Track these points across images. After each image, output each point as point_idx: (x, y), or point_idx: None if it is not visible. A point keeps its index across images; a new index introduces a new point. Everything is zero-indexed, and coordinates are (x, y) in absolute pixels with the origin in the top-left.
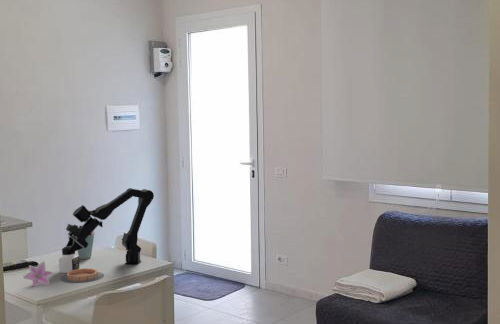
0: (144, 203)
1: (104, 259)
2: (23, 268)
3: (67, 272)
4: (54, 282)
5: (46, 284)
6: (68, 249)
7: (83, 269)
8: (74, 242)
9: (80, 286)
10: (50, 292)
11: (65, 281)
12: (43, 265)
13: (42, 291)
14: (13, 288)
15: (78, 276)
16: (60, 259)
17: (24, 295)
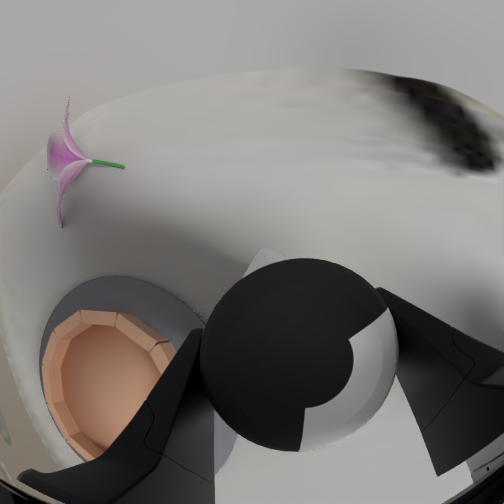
0: None
1: (461, 481)
2: (406, 111)
3: (122, 318)
4: (91, 247)
5: (60, 213)
6: (204, 358)
7: None
8: (70, 477)
9: (19, 349)
10: (9, 237)
11: (69, 299)
12: (50, 156)
13: (25, 210)
14: (103, 111)
15: (42, 360)
16: (251, 263)
17: (27, 164)
